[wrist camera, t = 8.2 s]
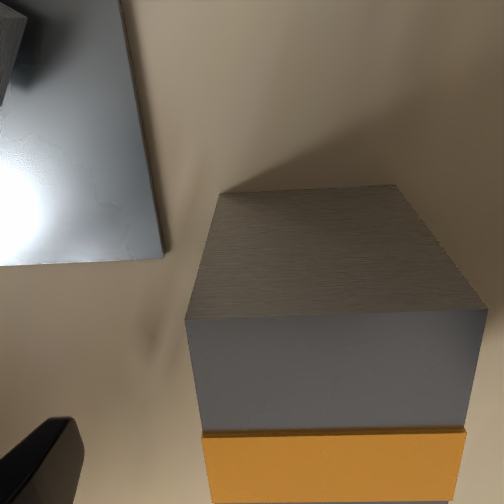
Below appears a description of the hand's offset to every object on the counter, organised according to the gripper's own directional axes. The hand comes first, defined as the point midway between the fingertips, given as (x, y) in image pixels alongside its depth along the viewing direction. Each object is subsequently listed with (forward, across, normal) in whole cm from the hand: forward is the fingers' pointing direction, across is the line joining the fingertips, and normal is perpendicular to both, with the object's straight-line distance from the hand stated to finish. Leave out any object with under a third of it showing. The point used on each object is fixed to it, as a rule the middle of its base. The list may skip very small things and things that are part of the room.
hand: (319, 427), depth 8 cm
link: (+4, 0, 0) cm, 4 cm away
